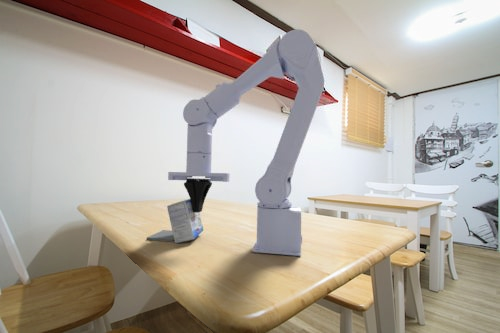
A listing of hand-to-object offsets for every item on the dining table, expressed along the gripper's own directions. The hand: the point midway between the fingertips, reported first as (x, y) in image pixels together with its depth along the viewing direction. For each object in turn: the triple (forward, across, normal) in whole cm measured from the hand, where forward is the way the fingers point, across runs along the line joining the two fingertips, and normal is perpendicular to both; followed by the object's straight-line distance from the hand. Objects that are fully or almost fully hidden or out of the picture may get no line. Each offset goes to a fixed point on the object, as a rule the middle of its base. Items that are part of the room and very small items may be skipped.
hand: (197, 211), depth 53 cm
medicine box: (+6, +2, 0) cm, 6 cm away
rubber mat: (+6, +8, 0) cm, 10 cm away
